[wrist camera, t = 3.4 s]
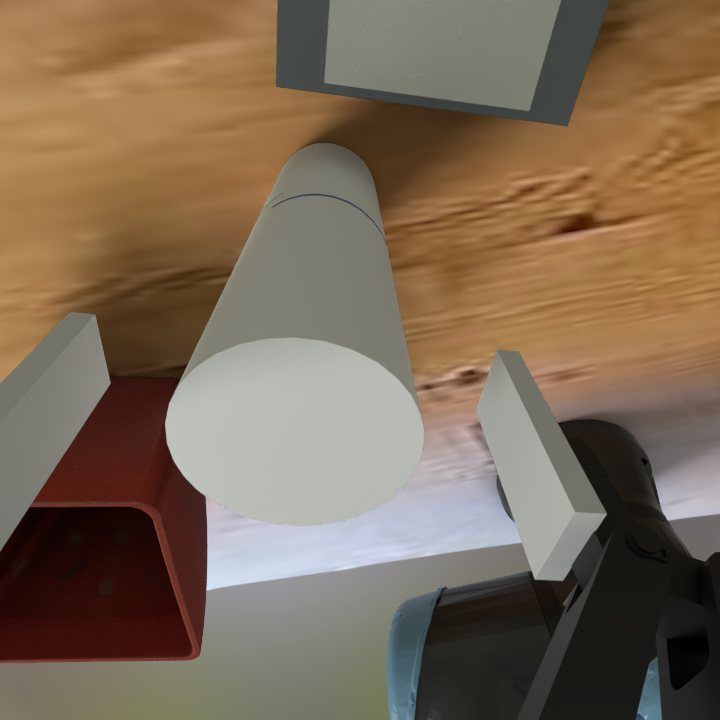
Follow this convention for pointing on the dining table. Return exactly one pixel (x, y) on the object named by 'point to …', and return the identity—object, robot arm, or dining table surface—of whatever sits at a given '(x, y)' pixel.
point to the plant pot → (109, 544)
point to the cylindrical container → (303, 360)
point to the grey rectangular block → (442, 52)
